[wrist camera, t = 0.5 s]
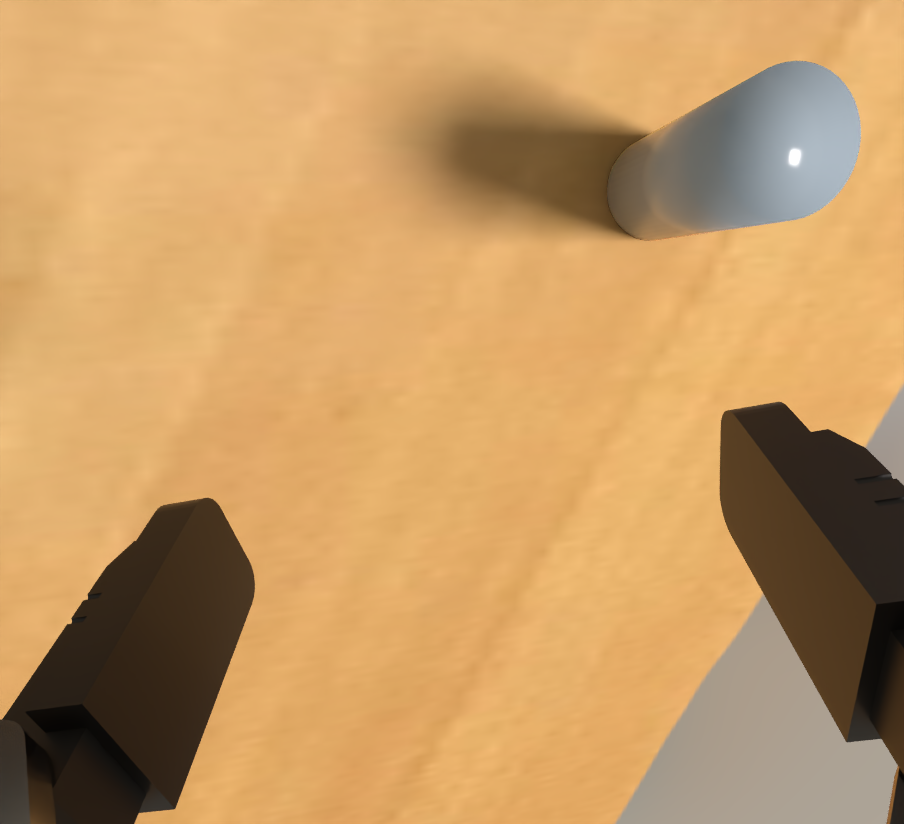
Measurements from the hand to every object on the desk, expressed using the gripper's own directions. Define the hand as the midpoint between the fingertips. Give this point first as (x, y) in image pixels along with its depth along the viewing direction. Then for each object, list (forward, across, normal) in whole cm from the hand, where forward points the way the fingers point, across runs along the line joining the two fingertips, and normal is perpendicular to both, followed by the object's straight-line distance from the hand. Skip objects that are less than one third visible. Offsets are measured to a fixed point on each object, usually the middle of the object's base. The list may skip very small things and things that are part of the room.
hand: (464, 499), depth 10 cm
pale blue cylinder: (+26, -10, +2) cm, 28 cm away
